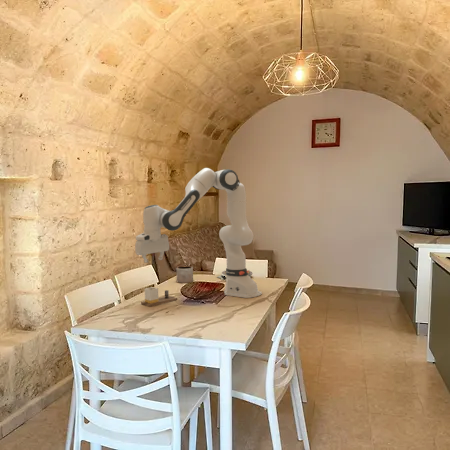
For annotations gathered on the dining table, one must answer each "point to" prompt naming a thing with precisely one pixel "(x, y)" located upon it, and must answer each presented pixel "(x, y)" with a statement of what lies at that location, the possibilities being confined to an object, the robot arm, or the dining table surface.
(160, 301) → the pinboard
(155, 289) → the sleeve
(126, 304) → the dining table surface
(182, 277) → the planter
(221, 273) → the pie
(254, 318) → the dining table surface
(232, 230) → the robot arm
